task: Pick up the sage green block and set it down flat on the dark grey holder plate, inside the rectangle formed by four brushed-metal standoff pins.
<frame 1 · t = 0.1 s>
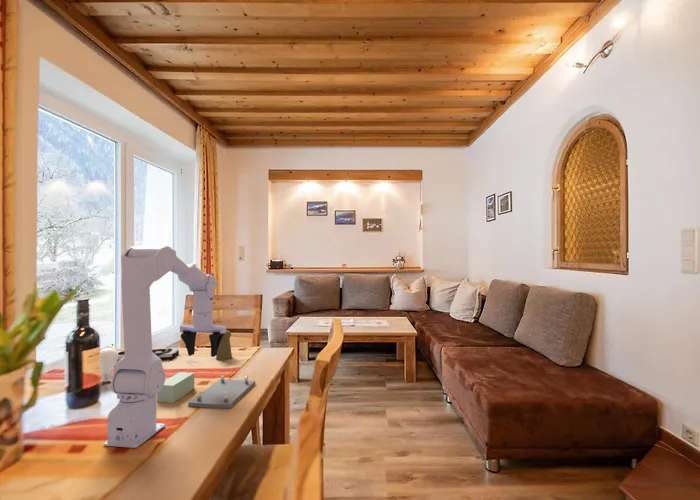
hand: (202, 355, 105), 10 cm above the table, tool pointing down, fingers open, 7 cm apart
pin holder: (224, 394, 99), on the table
lightbulb: (106, 382, 108), on the table
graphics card: (142, 360, 132), on the table
sage green block: (176, 395, 99), on the table
olive pepper mill: (224, 358, 133), on the table
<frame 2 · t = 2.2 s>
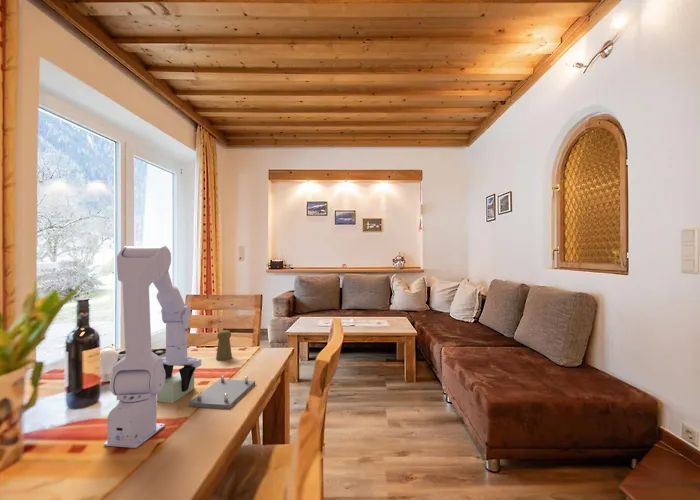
hand: (176, 389, 99), 1 cm above the table, tool pointing down, fingers closed on sage green block, 5 cm apart
sage green block: (176, 394, 99), on the table, touching gripper
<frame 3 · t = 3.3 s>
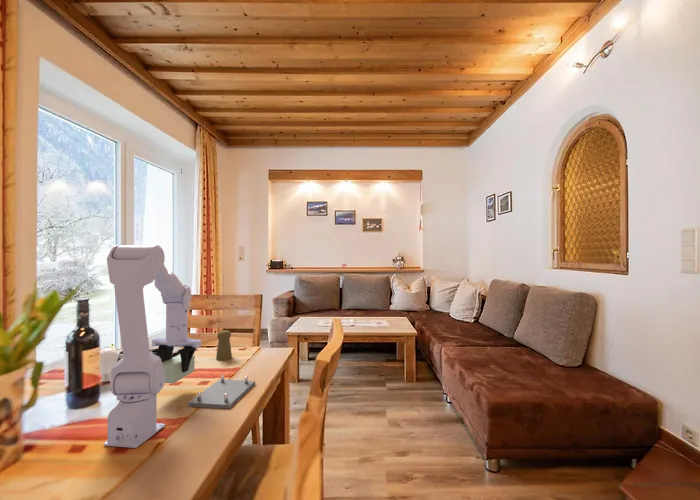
hand: (176, 370, 99), 7 cm above the table, tool pointing down, fingers closed on sage green block, 5 cm apart
sage green block: (176, 376, 99), point 5 cm above the table, touching gripper
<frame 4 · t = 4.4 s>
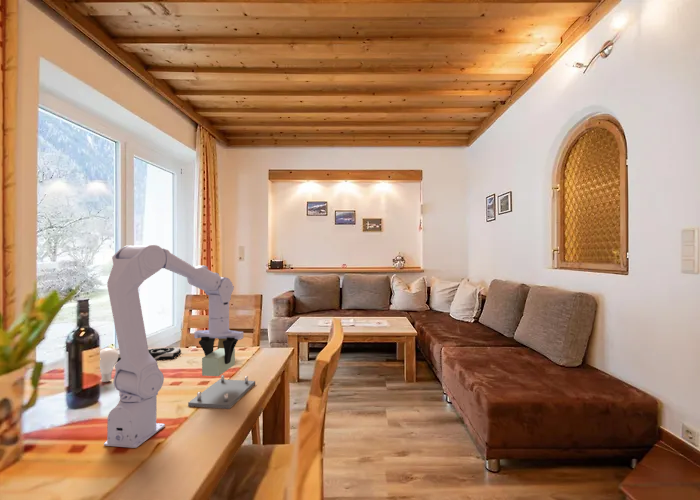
hand: (218, 362, 99), 9 cm above the table, tool pointing down, fingers closed on sage green block, 5 cm apart
sage green block: (219, 369, 99), point 7 cm above the table, touching gripper
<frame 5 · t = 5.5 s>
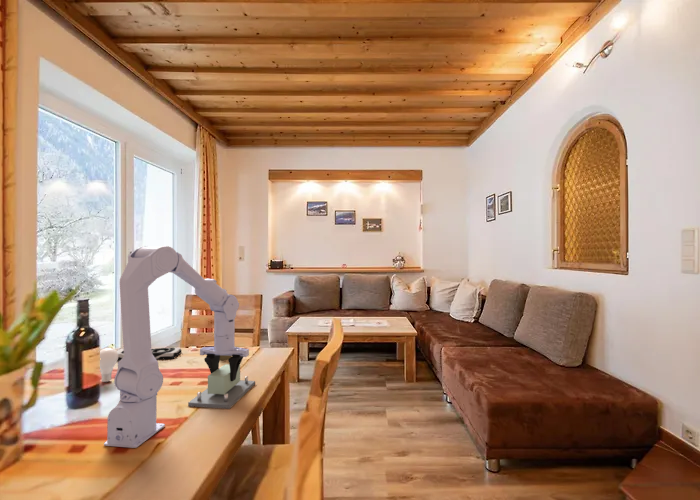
hand: (224, 379, 99), 4 cm above the table, tool pointing down, fingers closed on sage green block, 5 cm apart
sage green block: (224, 386, 99), point 2 cm above the table, touching gripper
when the fingers open (4 cm above the table, at t = 6.5 s): sage green block stays where it is, resting on pin holder.
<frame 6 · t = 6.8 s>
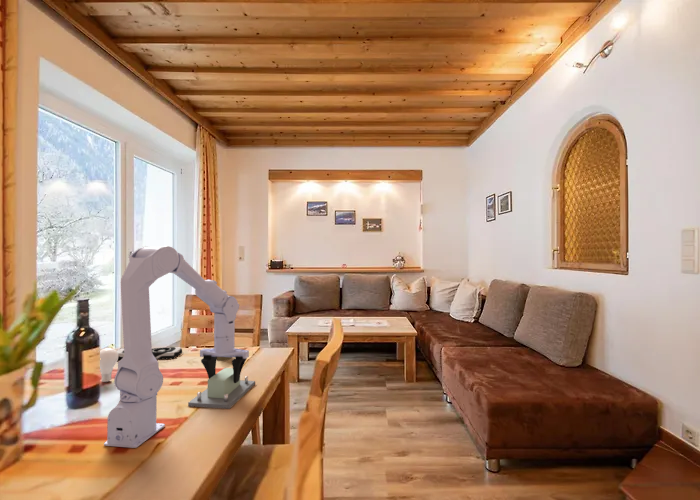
hand: (224, 381, 99), 4 cm above the table, tool pointing down, fingers open, 7 cm apart
sage green block: (224, 390, 99), point 1 cm above the table, touching pin holder
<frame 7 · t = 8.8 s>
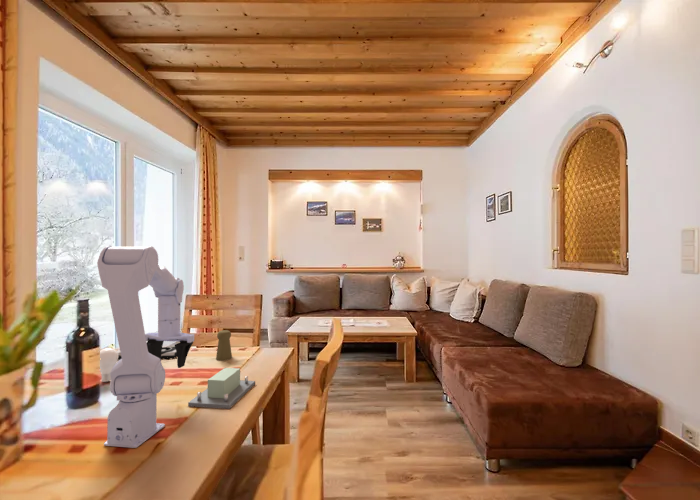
hand: (169, 366, 96), 9 cm above the table, tool pointing down, fingers open, 7 cm apart
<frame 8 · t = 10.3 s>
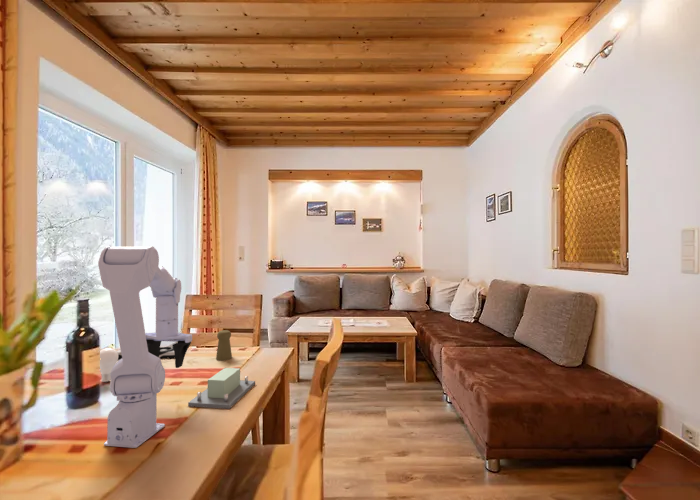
hand: (166, 366, 96), 9 cm above the table, tool pointing down, fingers open, 7 cm apart
at the end: sage green block 0.2 cm off-centre on the pin holder, point 1.0 cm above the pin holder's base; sage green block tilted 0°; the gripper is holding nothing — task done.
